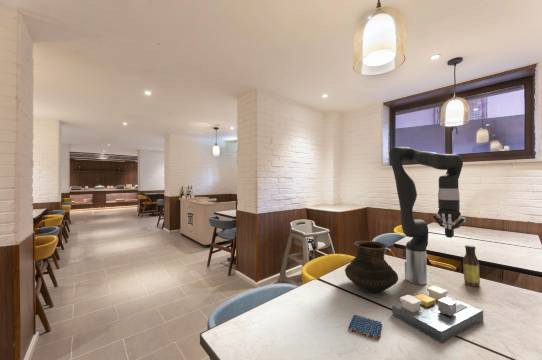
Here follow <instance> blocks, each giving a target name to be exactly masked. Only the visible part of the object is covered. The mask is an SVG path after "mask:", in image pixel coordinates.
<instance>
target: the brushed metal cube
mask: <svg viewBox="0 0 542 360" xmlns="http://www.w3.org/2000/svg"><path fill="white" fill-rule="evenodd" d="M438 311H441V312H443V313H445V314H447V315H449V316H451V315H454V314H456V302H454V301H451V300H449V299H446V298H442V299H440V300H438Z"/></svg>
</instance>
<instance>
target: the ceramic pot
mask: <svg viewBox="0 0 542 360" xmlns="http://www.w3.org/2000/svg"><path fill="white" fill-rule="evenodd" d="M353 245H354V246H355V247H356V252H357V253H356V254H357V255H356V256H355V257H354V258H353V259H352V260H351V262H350V263H349V264H347V265H346V267H345V269H344V273H345V276H346V278H348V279H349V280H350V282H351V283H353V284H354V285H355V286H356V287H358V288H360V289H361V290H363V291H365V292H367V293H371V294H378V293H381V292H384V291H387V290H388V289H390V288H391V287H393V286H394V285H396V284H397V283H398V281H399V276H398V273H397V272H396V271H395V270H394V268H393V267H392V266H391V265H390V264H389V263H388V262H387V261H386V260H385V249H386V248H388V245H387V244H386V243H383V242H379V241H374V240H372V241H371V240H357V241H354V243H353Z"/></svg>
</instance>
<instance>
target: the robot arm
mask: <svg viewBox="0 0 542 360" xmlns="http://www.w3.org/2000/svg"><path fill="white" fill-rule="evenodd" d="M388 157H389V161H390V164H391V165H390V166H391V167H392V171H393V176H394V179H395V180H394V181H395V186H396V190H397V191H396V192H397V193H396V194H397V196H398V203H399V209H400V222H401V229H402V233H403V234H404V235H405V236H406V237H408V238H412V239H410V240H409V241H407V242H406V244H405V247H406V248H405V253H406V254H405V256H406V257H405V259H406V260H405V261H404V279H405V280H407V282H409V283H412V284H414V285H427V283H428V278H427V277H428V276H427V275H428V271H427V270H428V269H427V267H428V266H427V264H428V263H427V247H428V245H429V227H428V224H427V222H426V221H425V220H423V219H418V218H417V219H414V215H413V214H414V212H413V208H414V205H415V203H416V200H417V197H418V193H417V188H416V187H417V186H416V183H415V182H414V180H413V178H412V177H411V176H410V175H409V174H408V173H407V172H406V171H405V169H404V167H403V163H410V162H411V163H412V162H415V163H418V164H419V165H420V166H421V165H422V166H427V167H430V168H433V169H435V170H441V171H446V173H445V174H443V175H441V176H439V177H438V191H437V192H438V193H437V198H438V199H437V200H438V201H437V202H438V204H437V206H438V211H437V213H436V214H433V215H432V217H433V219H434V220H435V222H436V223H437V224H438V225H439V227H440V228H441V227H442V228H443V229H444V235H445V237H446V238H449V239H452V238H453V237H454V235H455V229H459V228H460V227H461V226H462V225H463V224H465V222H467V220H468V218H467V217H464V216H462V213H461V212H460V211H461V210H460V207H461V204H460V201H461V200H460V191H459V190H460V188H459V179H460V176H461V172H462V169H463V165H464V160H463V158H462V157H461V155H459V154H456V153H439V152H434V151H433V152H432V151H422V150H417V149H414V148H411V147H408V146H393V147H391V148H390V150H389V155H388ZM457 220H458V221H457Z"/></svg>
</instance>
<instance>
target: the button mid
mask: <svg viewBox="0 0 542 360" xmlns="http://www.w3.org/2000/svg"><path fill="white" fill-rule="evenodd" d="M424 294H425V293H420V294H417V295H414V296H413V297H415V298H417V299H420V300H422V305H424V306H427V307H428V306H431V305H433V304H434V303H435V302H436V299H434V298H431V297H429V296H427V295H424Z"/></svg>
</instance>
